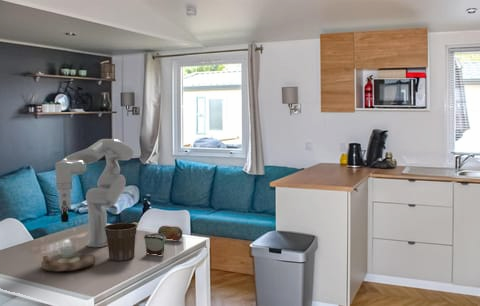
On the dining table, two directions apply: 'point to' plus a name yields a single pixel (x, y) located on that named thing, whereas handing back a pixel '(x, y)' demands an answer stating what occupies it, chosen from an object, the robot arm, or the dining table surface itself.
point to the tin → (171, 232)
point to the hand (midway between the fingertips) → (64, 220)
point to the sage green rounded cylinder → (68, 252)
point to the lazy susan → (67, 262)
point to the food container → (155, 243)
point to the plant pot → (121, 240)
